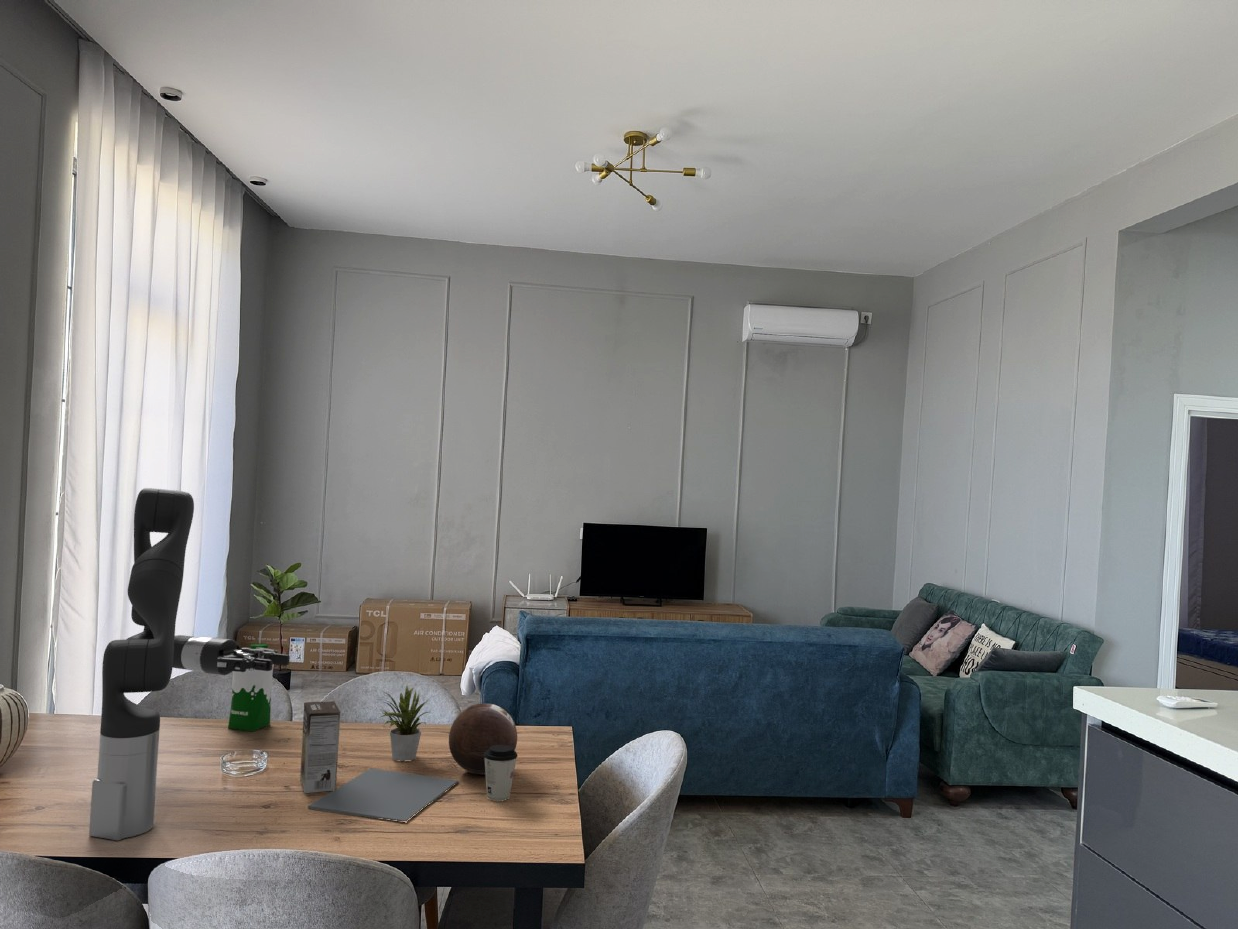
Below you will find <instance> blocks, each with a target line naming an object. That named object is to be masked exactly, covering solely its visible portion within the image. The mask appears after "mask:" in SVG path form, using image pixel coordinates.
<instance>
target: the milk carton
mask: <svg viewBox="0 0 1238 929" xmlns="http://www.w3.org/2000/svg"><path fill="white" fill-rule="evenodd" d="M257 647H260V648H266V649H269V644H267V643H260V642H258V643H251V644H250V647H249V648H250V649H256V648H257ZM274 666H275V665H274V664H273V666H272V670H271V671H262V670H252V671H250V670H246V671H245V672H236V671H232V685H231V701H230V702H231V703H230V711H229V719H228V725H227V729H232V730H237V729H238V731H247V732H255V731H258V730H259V729H262V728H265V727H267V726H270V725H271V707H272V706H271V705H272V689H273V688H272V687H273V672H274Z"/></svg>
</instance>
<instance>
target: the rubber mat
mask: <svg viewBox="0 0 1238 929" xmlns="http://www.w3.org/2000/svg"><path fill="white" fill-rule="evenodd" d="M457 782H458V783H459V779H453V778H452V779H451V778H443V777H437V776H429V775H424V774H423V775H422V774H416V773H415V774H414V773H408V772H401V771H394V770H387V769H380V768H372V767H371V768H369V769H367V770H366V771H364V772H362V773H360V774H359V775H356V776H355V777H354V778H352V779H350V780H349V781H347V782H345V783H344V784H342V785H340V786H338V787H337V788H336V789H335V790H334V791H329V793H327V794H326V795H323V796H322V797H320V798H319V799H317V800H315V801H313V802H311V804H308V805H307V809H309V808H311V809H310V810H315V809H316V811H321V812H328V811H330V813H335V814H343V815H348V814H350V816H354V815H359V816H358V817H361V816H364V817H363V818H367V817H371V818H370V819H374V818H383V819H390V820H397V821H407V820H408V819H409V818H411V817H412V816H413V815H414V814H416V813H417V812H418V811H420V810H421V809H422V808H424V807H425V806H426V805H428V804H429V803H431V802H432V801H434V800H435V799H436V798H437V797H439V796H440V795H441V794H443V793H444V792H445V791H446V790H448V789H449V788H450V787H452V786H453V785H454V784H456V783H457ZM458 783H457V784H458ZM457 784H456V785H457ZM453 787H454V786H453ZM453 787H452V788H453ZM449 790H450V789H449ZM449 790H448V791H449ZM445 793H446V792H445ZM445 793H444V794H445ZM444 794H443V795H444ZM440 797H441V796H440ZM440 797H439V798H440ZM436 800H437V799H436ZM436 800H435V801H436ZM435 801H434V802H435ZM431 804H432V803H431Z"/></svg>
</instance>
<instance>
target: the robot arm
mask: <svg viewBox="0 0 1238 929" xmlns="http://www.w3.org/2000/svg"><path fill="white" fill-rule="evenodd" d="M134 505H135V506H134V512H133V562H134V563H133V565H132V567H131V572H130V576H129V581H128V585H127V597H128V600H129V602H130V604H131V614H130V615H131V620H132V622H133V623H134V624H136V625H137V626H141V627H143V630H142V631H141V632H138V633H137V634H134V635H131V636H130V637H128V638H126V639H114V640H111V641H110V642H108V644H107V645H106V647H105V650H104V652H103V656H102V669H101V670H102V672H101V673H102V676H101V677H102V678H101V681H102V683H101V684H102V685H101V686H102V693H101V698H102V700H101V714H100V715H101V716H100V717H101V718H100V731H99V732H100V734H99V747H98V748H99V749H98V759H97V760H98V761H97V762H98V764H97V774H96V776H97V778H96V779H93V780H92V782H91V784H92V785H91V787H92V788H91V799H90V812H89V813H90V815H89V830H88V836H89V837H96V838H102V839H107V840H113V841H121V840H123V839H126V838H131V837H135V836H138V835H142V834H145V833H148V831H150V830H152V828H154V825H155V824H154V823H155V822H154V821H155V805H156V791H157V790H156V788H157V774H158V759H159V756H158V755H159V746H160V745H159V744H160V743H159V742H160V730H161V729H160V728H161V715H160V714H159V712H158V711H156V710H155V709H152V708H149V707H146V706H143V705H140V704H137V703H135V702H133V701H131V700H130V699H128V698H127V697H126V696H125V694H128V693H129V694H130V693H133V694H134V693H155V692H158V691H163V690H165V688H167V686H168V685H169V683H170V680H171V677H172V673H173V669H174V668H175V669H179V670H187V671H192V672H196V673H201V674H203V673H204V674H210V675H211V674H212V675H219V676H226V675H230V674H231V673H233V671H236V672H245V671H246V670H250V671H252V670H262V671H271V670H272V666H273V664H274V666H275V665H276V666H283V667H284V666H285V667H287V666H289V665H290V662H291V661H290V659H291V655H289V654H283V653H278V650H276V649H271V648H268V649H266V648H260V647H257V648H256V649H250V648H251V647H241V648H240V646H239V644H238V642H237V641H236V640H235V639H231V638H223V637H213V636H193V635H192V636H190V635H181V634H180V635H179V634H178V635H177V634H176V623H177V622H176V621H177V615H178V610H179V604H180V598H181V593H182V589H183V581H184V580H183V579H184V572H185V561H186V560H185V559H186V551H187V544H188V540H189V536H190V532H191V526H192V524H193V518H194V512H195V511H194V510H195V502H194V498H193V495H192V494H190V492H186V491H182V490H178V489H177V490H175V489H162V488H153V487H150V488H149V487H146V488H145V487H144V488H142V489H141V490H140V491H139V493H138V494H137V497H136V500H135V504H134ZM151 533H159V534H160V533H161V534H166V535H165V536H164V537H163V538H162V539H161V540H159V541H158V542H157V543H155V544H153V545H152V543H151Z"/></svg>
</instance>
